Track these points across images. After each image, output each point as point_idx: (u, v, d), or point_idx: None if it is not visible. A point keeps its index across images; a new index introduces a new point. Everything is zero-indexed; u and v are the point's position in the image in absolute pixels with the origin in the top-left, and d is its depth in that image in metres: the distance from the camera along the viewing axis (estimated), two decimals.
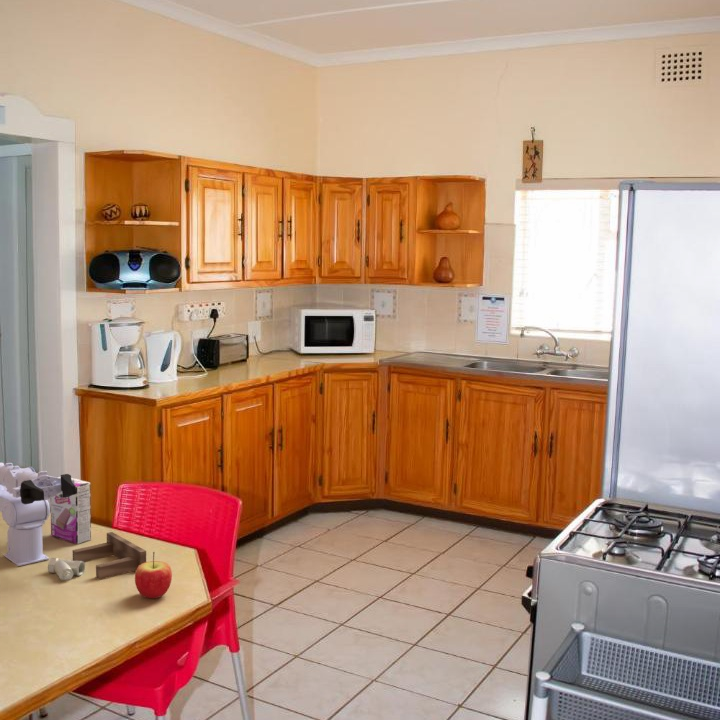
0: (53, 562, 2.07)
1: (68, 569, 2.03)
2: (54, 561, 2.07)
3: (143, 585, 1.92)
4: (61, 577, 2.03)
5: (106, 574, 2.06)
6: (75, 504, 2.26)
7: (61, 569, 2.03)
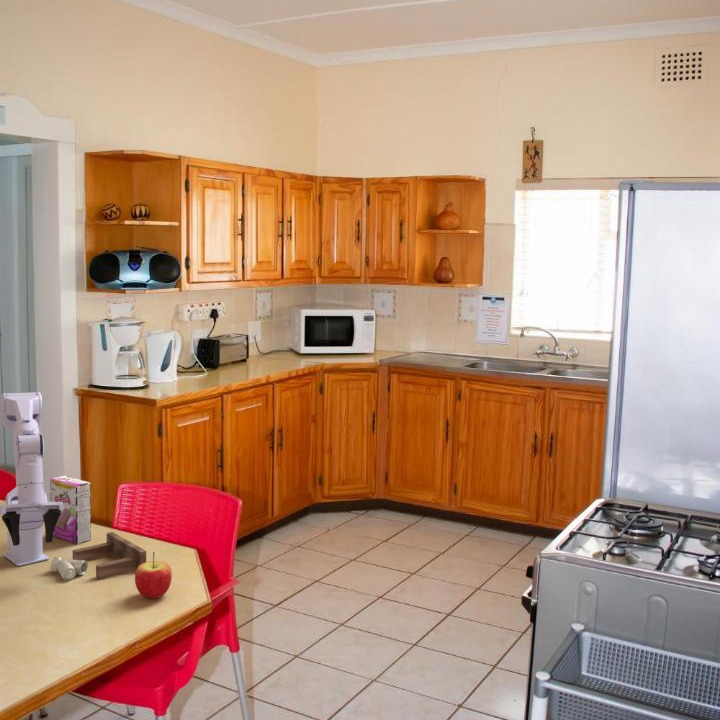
0: (56, 561, 2.07)
1: (70, 568, 2.04)
2: (57, 560, 2.07)
3: (143, 585, 1.92)
4: (63, 576, 2.03)
5: (106, 574, 2.06)
6: (75, 504, 2.26)
7: (63, 568, 2.04)
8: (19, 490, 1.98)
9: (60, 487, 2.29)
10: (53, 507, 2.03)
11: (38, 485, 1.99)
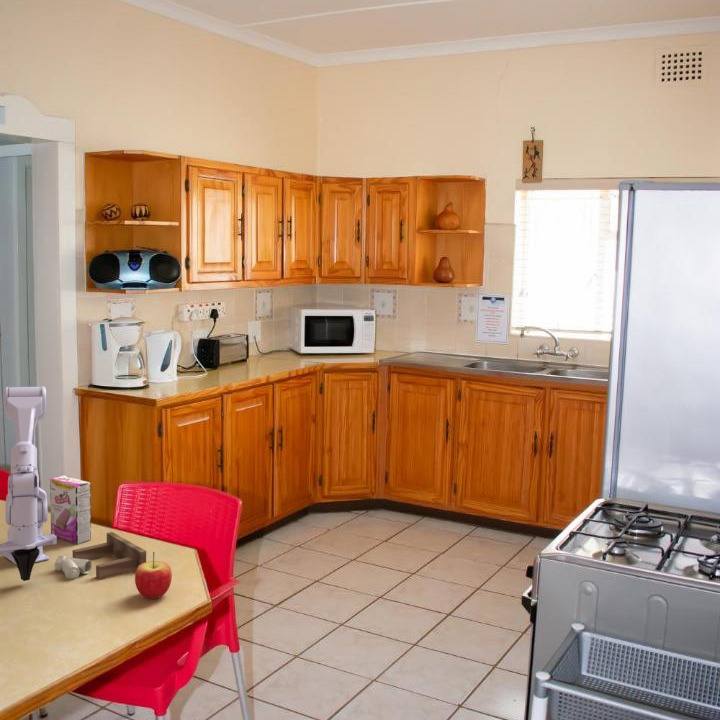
0: (60, 560, 2.08)
1: (74, 567, 2.04)
2: (61, 559, 2.08)
3: (143, 585, 1.92)
4: (67, 575, 2.04)
5: (106, 574, 2.06)
6: (75, 504, 2.26)
7: (67, 567, 2.04)
8: (13, 530, 1.96)
9: (60, 487, 2.29)
10: (46, 541, 2.02)
11: (32, 527, 1.97)
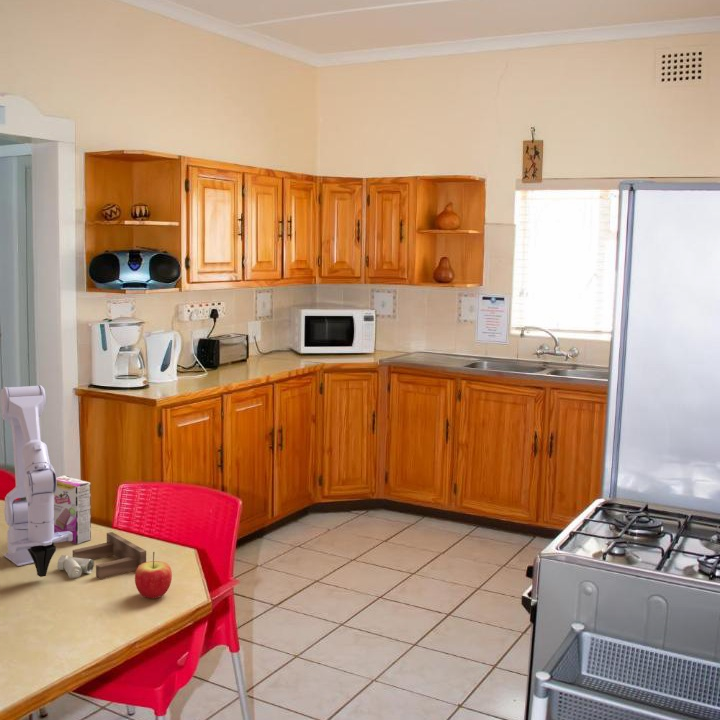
0: (63, 559, 2.08)
1: (77, 567, 2.05)
2: (64, 559, 2.09)
3: (143, 585, 1.92)
4: (70, 575, 2.04)
5: (106, 574, 2.06)
6: (75, 504, 2.26)
7: (70, 567, 2.05)
8: (30, 527, 1.99)
9: (60, 487, 2.29)
10: None
11: (49, 524, 1.99)
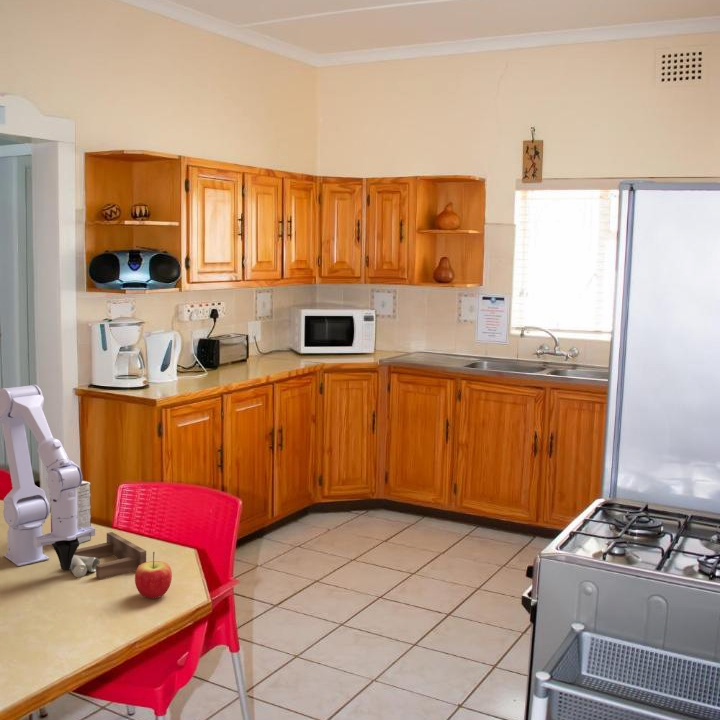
0: None
1: (82, 565, 2.06)
2: None
3: (143, 585, 1.92)
4: (75, 573, 2.05)
5: (106, 574, 2.06)
6: None
7: (75, 565, 2.06)
8: (54, 522, 2.03)
9: None
10: (85, 533, 2.09)
11: (72, 519, 2.03)
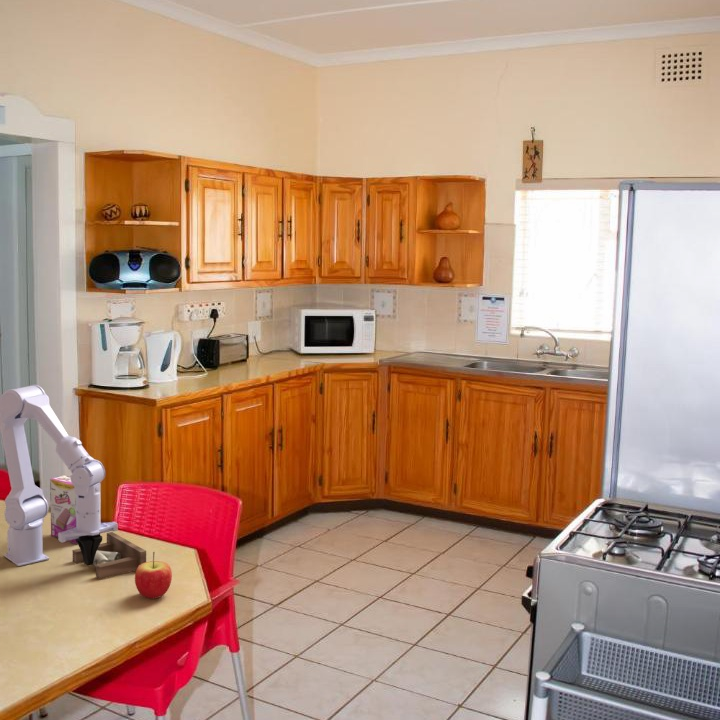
0: None
1: (105, 560, 2.10)
2: None
3: (143, 585, 1.92)
4: None
5: (106, 574, 2.06)
6: (75, 504, 2.26)
7: (98, 560, 2.10)
8: (78, 517, 2.07)
9: (60, 487, 2.29)
10: (108, 528, 2.13)
11: (96, 514, 2.07)
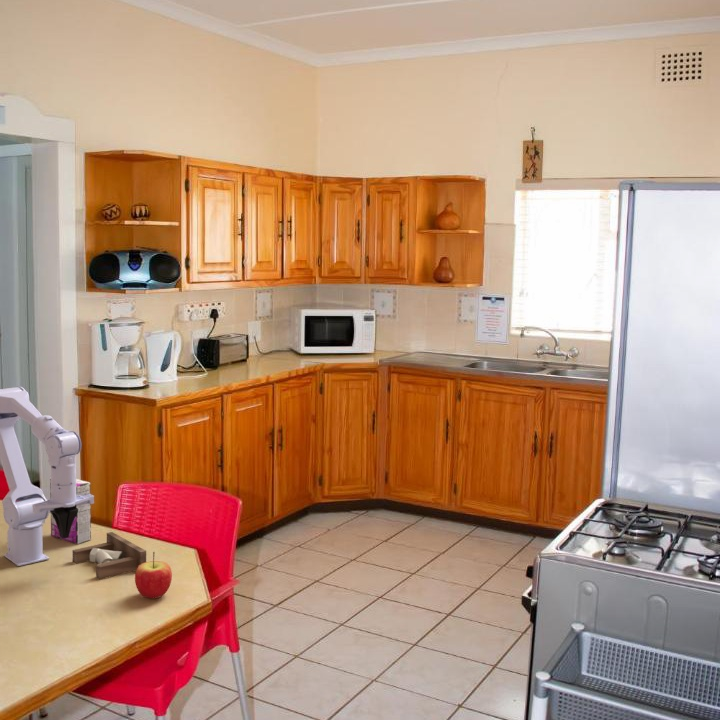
0: (95, 552, 2.14)
1: (109, 559, 2.11)
2: (95, 551, 2.14)
3: (143, 584, 1.92)
4: None
5: (106, 574, 2.06)
6: None
7: (102, 559, 2.11)
8: (53, 489, 2.02)
9: None
10: (84, 501, 2.08)
11: (71, 486, 2.03)
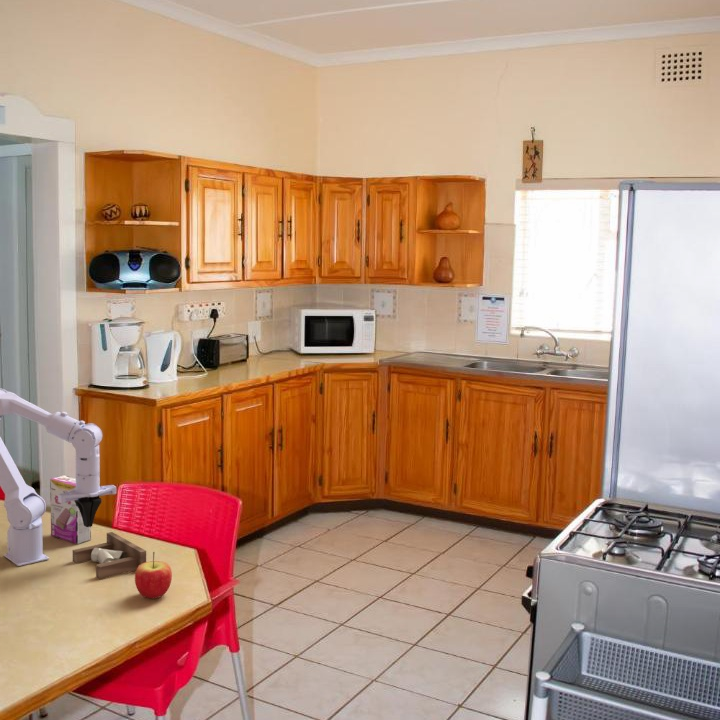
0: (96, 552, 2.15)
1: (110, 558, 2.11)
2: (97, 551, 2.15)
3: (143, 585, 1.92)
4: None
5: (106, 574, 2.06)
6: (75, 504, 2.26)
7: (103, 558, 2.11)
8: (77, 479, 2.11)
9: (60, 487, 2.29)
10: (107, 491, 2.17)
11: (95, 476, 2.11)
